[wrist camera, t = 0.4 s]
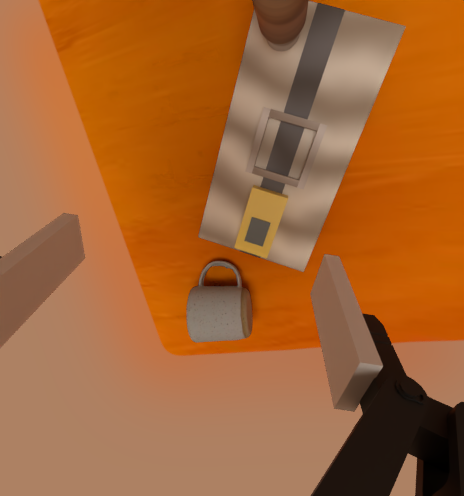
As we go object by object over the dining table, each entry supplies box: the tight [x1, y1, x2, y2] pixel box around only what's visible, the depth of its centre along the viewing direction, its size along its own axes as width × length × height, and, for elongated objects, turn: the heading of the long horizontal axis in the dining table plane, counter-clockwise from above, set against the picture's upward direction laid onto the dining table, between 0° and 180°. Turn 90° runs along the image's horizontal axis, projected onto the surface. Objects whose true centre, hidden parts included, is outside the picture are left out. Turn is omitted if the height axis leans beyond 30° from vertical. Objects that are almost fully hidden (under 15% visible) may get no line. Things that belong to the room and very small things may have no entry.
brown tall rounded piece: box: [252, 0, 309, 52], centre depth 24 cm, size 4×4×14 cm
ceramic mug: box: [187, 261, 252, 342], centre depth 40 cm, size 11×8×8 cm
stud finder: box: [234, 185, 288, 259], centre depth 37 cm, size 8×4×2 cm, turn 165°
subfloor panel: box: [198, 1, 406, 272], centre depth 34 cm, size 28×15×3 cm, turn 165°
